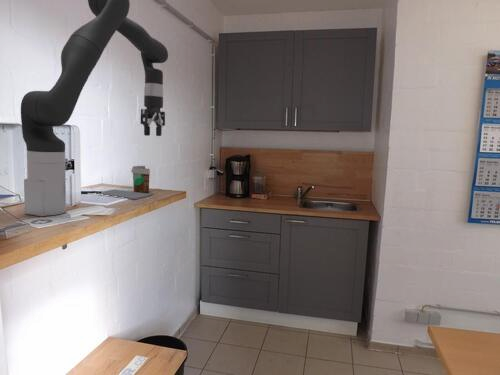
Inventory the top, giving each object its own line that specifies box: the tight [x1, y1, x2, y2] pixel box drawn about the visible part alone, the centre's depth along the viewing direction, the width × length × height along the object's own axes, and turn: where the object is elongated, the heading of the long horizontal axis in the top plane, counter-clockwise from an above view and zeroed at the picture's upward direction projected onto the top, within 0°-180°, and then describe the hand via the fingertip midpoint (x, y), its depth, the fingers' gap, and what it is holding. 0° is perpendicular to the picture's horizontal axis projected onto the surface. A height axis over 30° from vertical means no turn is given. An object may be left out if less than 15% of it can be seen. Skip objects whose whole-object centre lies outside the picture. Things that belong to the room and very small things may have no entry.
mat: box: [95, 188, 154, 201], centre depth 135 cm, size 12×18×1 cm, turn 72°
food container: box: [131, 165, 151, 194], centre depth 143 cm, size 12×6×10 cm, turn 25°
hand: (153, 135), depth 149 cm, fingers open, 8 cm apart
